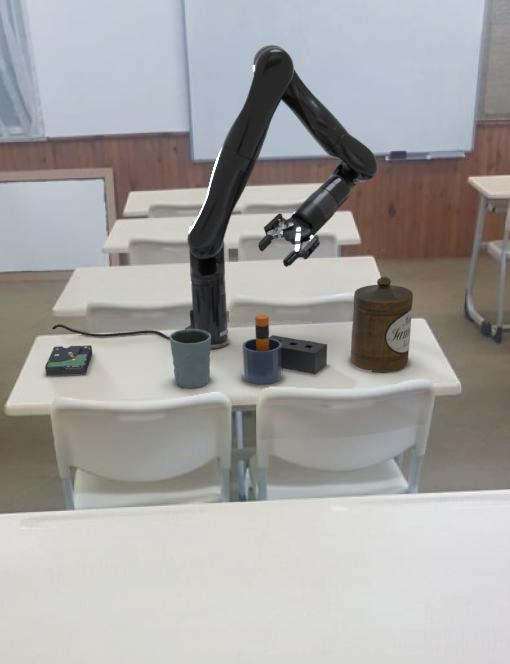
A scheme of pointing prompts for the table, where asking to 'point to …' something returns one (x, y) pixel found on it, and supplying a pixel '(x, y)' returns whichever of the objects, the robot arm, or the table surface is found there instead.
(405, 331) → the wooden container
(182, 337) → the grey-green cup
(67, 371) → the disk drive
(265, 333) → the screwdriver
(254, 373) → the pencil cup
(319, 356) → the holder
